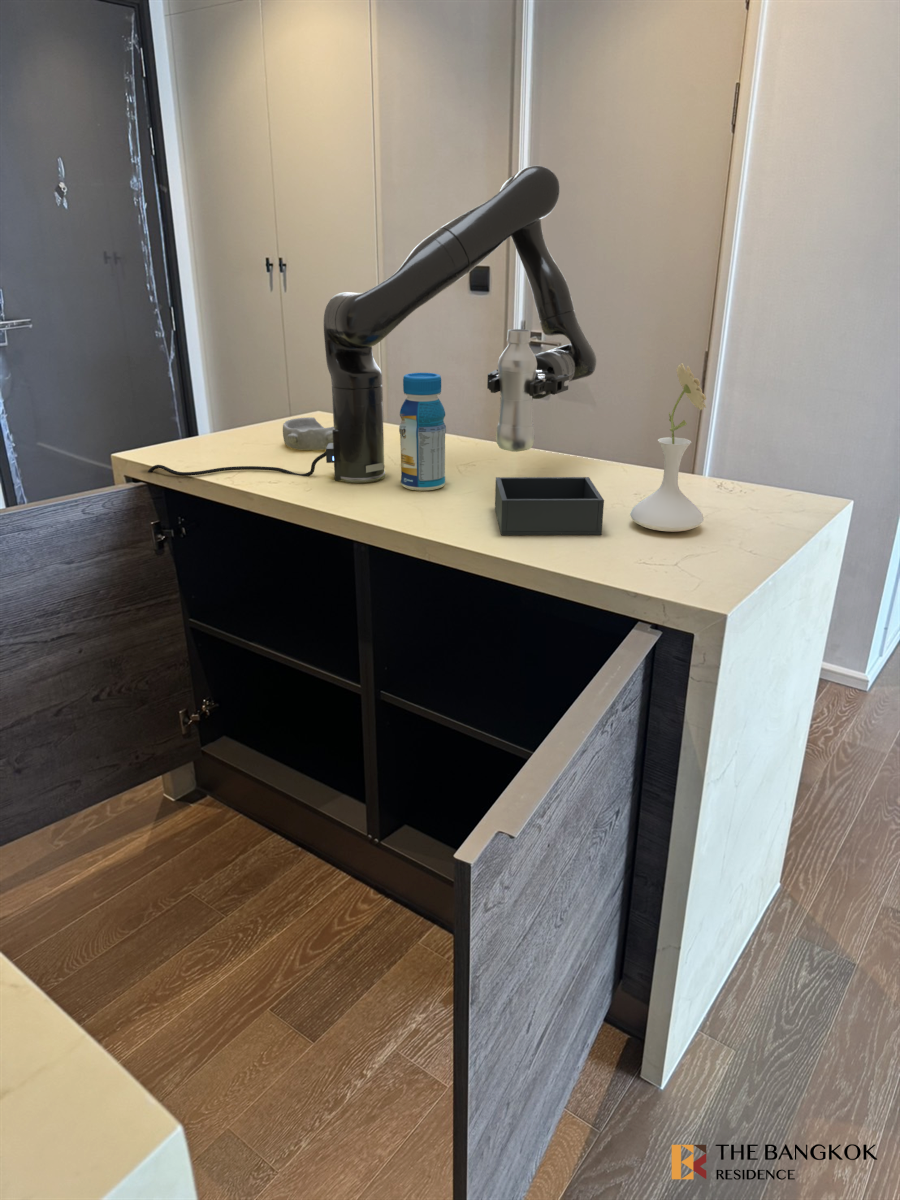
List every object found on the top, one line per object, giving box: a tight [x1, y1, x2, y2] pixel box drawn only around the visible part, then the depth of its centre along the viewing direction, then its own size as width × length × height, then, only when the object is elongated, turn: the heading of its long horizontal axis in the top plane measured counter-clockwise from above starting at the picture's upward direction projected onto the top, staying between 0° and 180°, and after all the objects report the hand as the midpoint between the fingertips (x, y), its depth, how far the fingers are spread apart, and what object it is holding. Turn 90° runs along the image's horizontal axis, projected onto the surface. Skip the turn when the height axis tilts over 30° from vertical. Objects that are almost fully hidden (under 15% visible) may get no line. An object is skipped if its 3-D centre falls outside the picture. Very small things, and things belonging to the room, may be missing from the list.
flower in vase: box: [629, 362, 707, 533], centre depth 133 cm, size 13×11×25 cm
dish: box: [282, 416, 334, 451], centre depth 188 cm, size 14×14×5 cm
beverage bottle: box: [398, 372, 447, 492], centre depth 155 cm, size 8×8×20 cm
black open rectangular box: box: [494, 476, 605, 536], centre depth 138 cm, size 16×14×6 cm
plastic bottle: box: [495, 328, 537, 453], centre depth 145 cm, size 6×7×20 cm
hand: (512, 388), depth 143 cm, fingers closed on plastic bottle, 6 cm apart
